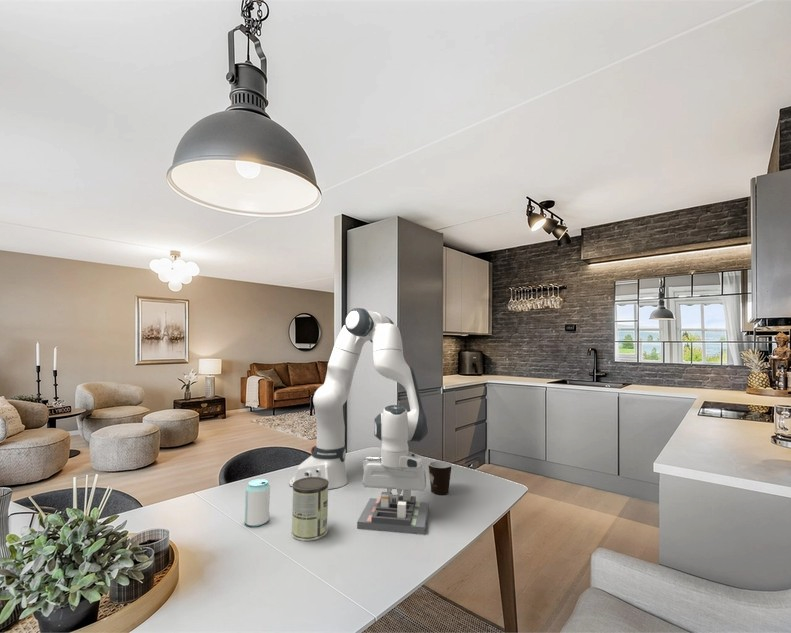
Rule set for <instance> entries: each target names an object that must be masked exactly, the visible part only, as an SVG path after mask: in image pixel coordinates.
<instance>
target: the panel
mask: <svg viewBox="0 0 791 633" xmlns="http://www.w3.org/2000/svg"><path fill="white" fill-rule="evenodd" d="M393 496H397V494H393ZM416 499H417V497H416V496H414V495H413V496H412V495H411V501H405V500H403V494H402V495H401V494H400V496H399V497H398V501H401V502H406V519H405V518H397V503H389V508H385V507H381V497H380V498H376V497H375V498H374V497H370V498H368V502H367V503H366V505H365V507H364V509H363V510H362V512H361V514H360V516H359V518H358V519H357V521H356V525H357V526H356V528H357V529H358V530H359V529H360V530H366V531H367V530H368V531H370V530H371V531H382V532H392V533H403V534H404V533H405V534H416V535H425V533H426V527H427V519H428V513H429V502H428V501H418V500H416Z"/></svg>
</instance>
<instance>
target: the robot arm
mask: <svg viewBox="0 0 791 633" xmlns="http://www.w3.org/2000/svg"><path fill="white" fill-rule="evenodd" d="M369 341H370V342H371V343H372V359H373V367H374V370H375V371H377V373H378V374H380V375H381V376H382V377H385V378H386V379H389V380H392V381H393V382H396V383H398V384H400V385H402V386H403V387H404V389H405V393H406V396H407V401H408V405H409V409H410V411H407V408H405V407H404V406H402V405H397V404H394V405H393V404H391V405H387V406H385V407H384V408H383V411H382V412H380V413H379V414H378V415H376V416H375V417H374V432H373V434H374V437H375V438H376V439H378V440H379V441H381V442H382V443H381V448H380V456H367V457H366V458H364V459H363V461H362V469H363V473H362V474H363V477H362V485H363V487H364V488H374V489H384V490H385V489H386V492H387V493H388V495H389V497H390V503H397V504H398V497H399V496H400V495H401V494H402V493H403V490H411V491H415V492H416V491H418V492H424V491H425V489H427V476H426V473H427V472H426V469H425V467H424V465H423V456H422V455H421V454H417V453H414V452H413V451H409V444H408V442H413V443H414V442H417V443H419V442H420V443H421V441H422V440H424V438H426V436H427V435H428V432H429V425H428V420H427V417H426V414H425V410H424V408H423V407H424V406H423V403H422V399H421V394H420V390H419V389H420V388H419V386H418V382H417V378H416V375H415V371H414V369H413V367H411V365H410V366H409V365H408V363H407V362H406V359H405V357H404V349H403V348H404V346H403V339H402V335H401V332H400V329H399V326H397V325H396V324H395V323H394V322H393V320H392V319H391V318H389V317H388V316H385V315H383V314H381V313H378V312H376V311H372V310H367V309H365V308H362V307H354V308H352V309H351V310H349V312H348V313H347V314H346V316H345V320H344V325H343V326H342V328H341V330H340V331H339V333H338V335H337V337H336V340H335V342H334V345H333V348H332V352H331V354H330V357H329V360H328V362H327V370H326V374H325V379H324V382H323V384H322V385H320V386H319V387H318V388H317V389H316V390H315V392H314V394H313V398H312V402H313V404H312V405H313V406H314V415H315V416H314V417H315V421H316V422H315V423H316V439H315V440H316V441H315V442H316V443H315V444H314V445H313V446H312V447H311V449H310V453H311V455H310V456H308V457H307V458H306V459H305V460H304V461H302V462H301V463H300V464H299V465H298V466H297V469H296V471H295V475H293V477H292V478H290V480H289V484H288V486H289V487H293V483H294V482H295V481H297V480H299V479H302V478H307V477H321V478H324V479H327V480H328V482H329V485H328V490H331V489H337V488H341V487H344V486H345V485H347V484H348V483H349V480H348V475H347V471H346V462H345V461H346V455H347V452H346V451H347V450H346V445H345V440H346V439H345V435H346V434H345V433H346V430H345V429H346V425H345V419H344V408H343V406H344V405H345V403H346V402H347V400H348V398H349V394H350V391H351V387H352V383H353V378H354V375H355V372H356V369H357V366H358V362H359V360H360V357H361V353H362V350H363V346H364V344H365V343H367V342H369ZM393 490H396V493H397V494H396V495H397V496H393V495H394V494H393V492H392V491H393Z"/></svg>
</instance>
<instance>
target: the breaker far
mask: <svg viewBox="0 0 791 633" xmlns="http://www.w3.org/2000/svg"><path fill="white" fill-rule="evenodd" d="M402 496H403V500H405V501H411V496H412V490H402Z"/></svg>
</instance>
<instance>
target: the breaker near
mask: <svg viewBox="0 0 791 633" xmlns="http://www.w3.org/2000/svg"><path fill="white" fill-rule="evenodd" d="M397 518H405V519H406V502H401V501H398V504H397Z"/></svg>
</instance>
